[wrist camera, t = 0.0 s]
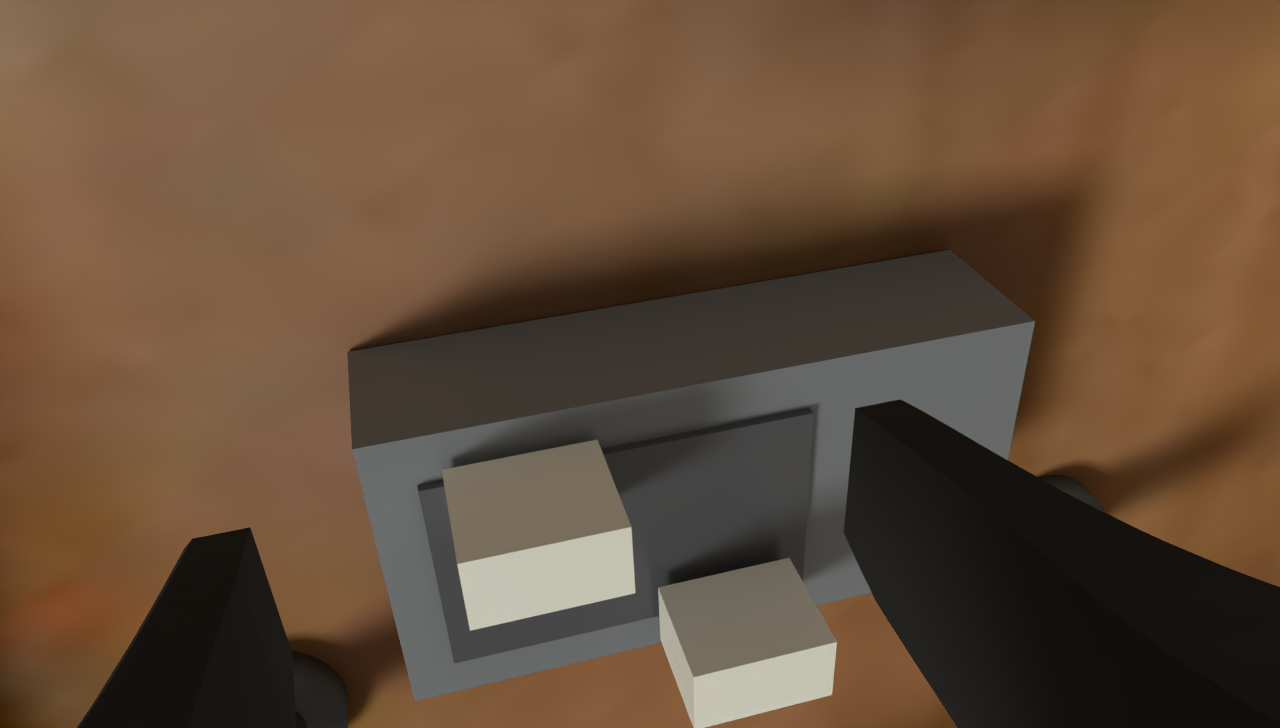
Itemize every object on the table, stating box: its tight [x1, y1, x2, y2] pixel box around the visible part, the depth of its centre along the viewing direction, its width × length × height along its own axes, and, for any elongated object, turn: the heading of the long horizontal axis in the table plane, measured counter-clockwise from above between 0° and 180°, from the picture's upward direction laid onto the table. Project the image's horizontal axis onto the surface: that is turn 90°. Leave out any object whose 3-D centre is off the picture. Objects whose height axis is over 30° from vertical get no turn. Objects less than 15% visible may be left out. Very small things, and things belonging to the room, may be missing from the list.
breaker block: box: [348, 250, 1035, 701], centre depth 22 cm, size 7×14×6 cm, turn 92°
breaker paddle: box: [658, 558, 837, 728], centre depth 21 cm, size 2×3×2 cm, turn 92°
